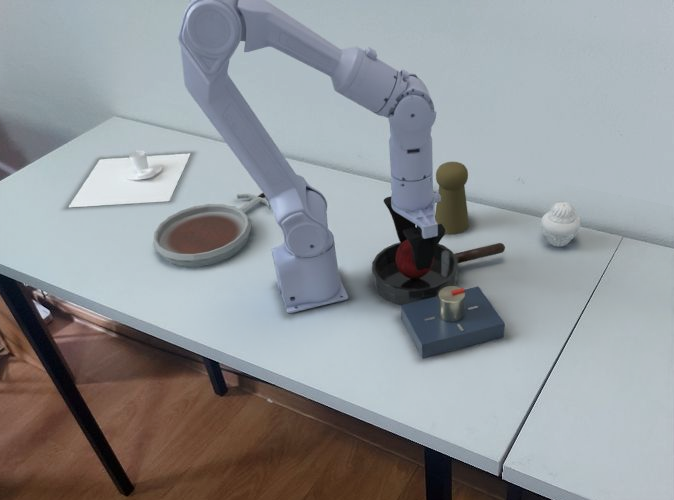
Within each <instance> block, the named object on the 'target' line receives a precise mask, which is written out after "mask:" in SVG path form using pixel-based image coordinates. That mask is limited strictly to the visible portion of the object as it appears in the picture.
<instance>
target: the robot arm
mask: <svg viewBox="0 0 674 500" xmlns="http://www.w3.org/2000/svg"><path fill="white" fill-rule="evenodd" d="M177 40H178V44H179V46H180V54H181V55H180V56H181V65H182V73H183V82H184V86H185V88H186V90H187V92H188V93H189V95H190V96H191V97H192V98H193V100H194V101H195V103H196V104H197V106H198V107H199V108H200V110H201V111H202V112H203V114H204V115H205V117H207V119H208V120H209V122H210V123H211V125H212V126H213V127H214V129H215V130H216V131H217V132H218V134H219V135H220V137H221V138H222V139H223V141H224V142H225V143H226V145H227V146H228V147H229V149H230V150H231V152H232V153H233V154H234V155H235V158H236V159H237V160H238V161H239V162H240V164H241V165H242V167H243V168H244V169H245V170H246V172H247V173H248V174H249V176H250V177H251V179H252V180H253V182H255V184H256V186H257V187H258V188H259V189H260V191H261V192H262V193H264V195H265V198H266V199H267V200H268V202H269V204H270V207H271V210H272V213H273V217H274V218H275V223H276V224H277V225H278V226H279V228H280V229H281V231H282V234H283V243H282V244H280V245H278V246H276V247H273V248H271V256H272V260H273V265H274V270H275V275H276V280H277V282H276V287H277V291H278V294H279V295H281V298H282V302H283V304H284V307H285V310H286V313H288V314H293V313H297V312H301V311H305V310H309V309H314V308H317V307H321V306H322V307H323V306H326V305H331V304H334V303H337V302H343V301H346V300H348V299H349V295H348V292H347V290H346V289H345V286H344V284H343V282H342V280H341V277H340V274H339V267H338V258H337V251H336V243H335V236H334V234H333V232H332V231H331V230H330V229H329V224H328V213H327V212H328V203H327V202H328V201H327V199H326V197H325V196H324V194H323V193H322V192H321V191H320V190H319V189H316V188H315V187H313V186H312V185H310V184H309V183H308V182H307V180H306V179H305V177H303V176H302V175H299V174H297V173H296V172H295V170H294V169H293V168H292V166H291V165H290V163H289V162H288V160H287V159H286V157H285V156H284V154H283V153H282V151H281V150H280V149H279V146H277V144H276V143H275V141H274V139H273V138H272V137H271V135H270V134H269V133H268V131H267V129H266V128H265V126H264V125H263V123H262V122H261V121H260V119H259V118H258V116H257V115H256V113H255V112H254V111H253V109H252V108H251V106H250V104H249V103H248V101H247V100H246V99H245V97H244V96H243V94H242V93H241V91H240V90H239V88H238V87H237V86H236V84H235V83H234V81H233V80H232V78H231V77H230V75H229V72H228V71H229V65H230V60H231V58H232V57H233V55H234V54H235V52H236V51H237V48H238V47H239V45H240V42H244V46H243V47H244V49H243V52H244V53H250V52H254V51H257V50H261V49H265V48H269V47H270V48H273V49H274V50H277V51H279V52H281V53H283V54H285V55H287V56H289V57H291V58H293V59H294V60H297V61H299V62H301V63H303V64H305V65H306V66H309V67H311V68H313V69H315V70H316V71H319V72H321V73H323V74H324V75H327V76H329V78H330V79H331V83H332V87H333V90H334V91H335V92H336V93H338V94H340V95H342V96H343V97H345V98H346V99H348V100H349V101H352V102H354V103H355V104H357V105H359V106H360V107H363V108H364V109H366V110H368V111H370V112H371V113H373V114H375V115H377V116H379V117H383V118H387V119H388V123H389V139H388V149H389V164H390V165H389V166H390V179H389V180H390V191H391V196H387V197H385V198H384V199H383V204H384V205H385V206H386V208H387V209H388V212H389V214H390V216H391V218H392V222H393V224H394V228H395V231H396V235H397V238H398V241H399V243H400V242H401V243H403V242H404V241H405V240H407V239H408V241H409V244H410V246H411V249H412V254H413V259H414V264H415V266H416V268H417V270H418V271H419V270H423V269H427V268H430V267H431V264H432V261H433V257H434V254H435V251H436V248H437V246H438V244H440V243H441V240H442V239H443V238H444V236H446V234H445V228H444V227H443V225H442V224H437V222H436V220H435V213H436V205H435V204H437V202H440V201H441V196H440V194H439V193H438V191H436V190H434V175H433V174H434V173H433V166H434V165H433V164H434V163H433V162H434V161H433V138H432V127H433V126H434V124H435V122H436V118H437V111H435V105H434V102H433V99H432V97H431V95H430V92H429V90H428V88H427V85H426V84H425V83H424V81H423V80H421V79H420V77H418V75H417V74H416V73H413V72H408V71H406V70H405V69H403V68H401V70H400V71H399V70H397V69H396V68H394V67H392V66H391V65H389V64H387V63H386V62H384V61H382V60H381V59H380V58H377V57H378V54H377V51H376V50H375V49H373V48H372V47H370V46H366V48H365V50H364V49H362V48H360V47H359V46H351V47H346V48H343V49H342V48H340V47H338V46H337V45H336V44H333V43H332V42H330V41H329V40H328V39H326V38H325V37H322V35H320V34H318V33H316V31H313V30H312V29H311V28H309V27H307V26H306V25H304V24H303V23H301V22H300V21H298V20H297V19H295V18H294V17H292V16H291V15H289V14H288V13H286V12H285V11H283V10H281V9H280V8H278V7H277V6H275V5H274V4H272V3H271V2H270V1H268V0H189V2H188V5H187V6H186V8H185V10H184V13H183V16H182V19H181V23H180V27H179V31H178V35H177Z"/></svg>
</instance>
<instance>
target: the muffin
mask: <svg viewBox="0 0 674 500" xmlns="http://www.w3.org/2000/svg"><path fill="white" fill-rule="evenodd" d="M540 223H541V227H542V228H541V229H542V232H543V234H544V236H545V238H546V240H547V242H548V244H549V245H551V246H553V247H557V248H558V247H562V248H563V247H565V246H567V245H568V244H569V243H570V242H571V241H572V240H573V238H574V237H576V235H577V234H578V233H579V232H578V231H579V230H580V229H581V225H582V221H581V218H580V217H579V216H578V215H577V213H576V211H575V207H574V206H573V204H571V203H569V202H565V201H559V202H556V203H555V204H553V205H552V206H551V209H550V210H549V211H547V212H545V214H543V216H542V217H541V221H540Z"/></svg>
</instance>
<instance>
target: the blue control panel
mask: <svg viewBox="0 0 674 500" xmlns="http://www.w3.org/2000/svg"><path fill="white" fill-rule="evenodd" d="M464 290H465V314H464V317H463V318H462V319H461V320H459V321H455V322H448V321H444V320H443V319H441V318H440V317H439V305H438V296H436V297H432V298H428V299H424V300H420V301H416V302H412V303H408V304H404V305H400V319H401V320H402V323H403V324H404V326H405V328H406V330H407V332H408V334H409V335H410V338H411V339H412V342H413V343H414V345H415V347H416V349H417V351H418V353H419V354H420V357H421V359H425V358H428V357H432V356H436V355H439V354H444V353H447V352H451V351H456V350H459V349H463V348H467V347H470V346H474V345H477V344H481V343H485V342H489V341H493V340H497V339H500V338H504V337H505V328H506V327H505V326H506V323H505V321H504V319H502V317H501V316H500V314H499V313H498V311H497V310H496V309H495V307H494V306H493V304H492V303H491V302H490V300H489V298H488V297H487V296H486V294H485V293H484V292H483V291H482V289H481V288H480V286H479V285H477V286H473V287H468V288H464Z"/></svg>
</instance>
